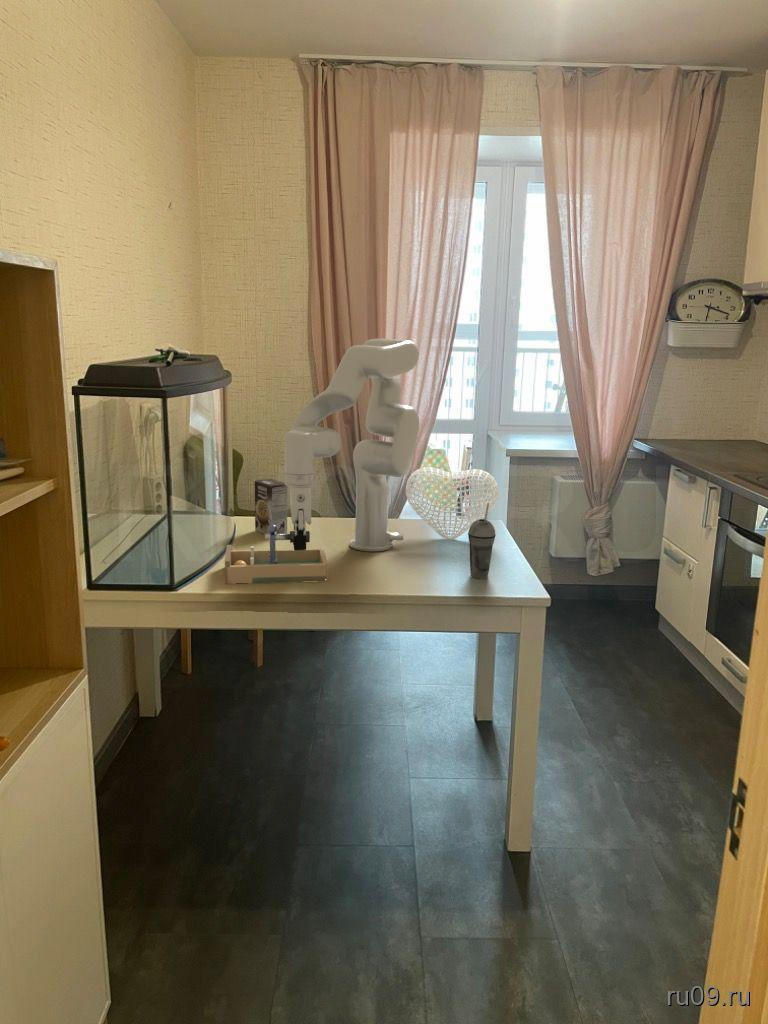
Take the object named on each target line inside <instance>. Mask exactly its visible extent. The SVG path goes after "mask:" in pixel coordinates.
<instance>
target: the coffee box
mask: <svg viewBox="0 0 768 1024" xmlns="http://www.w3.org/2000/svg"><path fill="white" fill-rule="evenodd" d="M288 487H289V486H286V485H285V482H283V481H280V480H276V479H273V478H268V479H267V478H266V479H265V478H264V479H256V480H254V522H255V523H254V525H255V526H254V527H255V528H254V530H255V531H256V532H257V533H260V534H262V533H263V534H262V535H265V534H270V533H269V531H268V527H269V526H270V525H272V524H273V525H276V527H277V531H276V533H275V534H288V491H289V490H288Z"/></svg>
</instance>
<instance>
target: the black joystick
mask: <svg viewBox="0 0 768 1024" xmlns="http://www.w3.org/2000/svg"><path fill="white" fill-rule="evenodd" d="M268 531H269V533H270V534H264V541H269V549H270V553H269V565H273V564H277V556H276V541H289V543H290V544H291V543H292V544H293V543H294V535H295V530H290V531H289V533H287V534H275V533H276V531H277V527H276V525H273V524H272V525H270V526H269V527H268ZM310 539H311V537H310V530H306V543H310Z"/></svg>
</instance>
